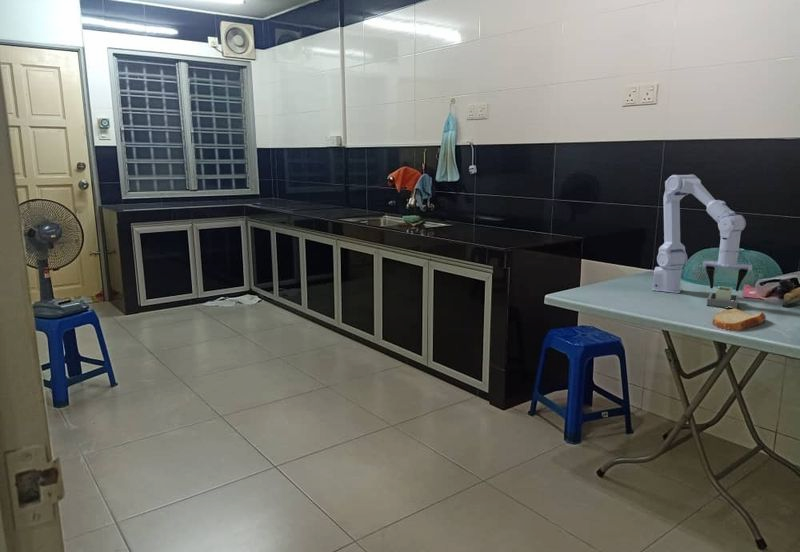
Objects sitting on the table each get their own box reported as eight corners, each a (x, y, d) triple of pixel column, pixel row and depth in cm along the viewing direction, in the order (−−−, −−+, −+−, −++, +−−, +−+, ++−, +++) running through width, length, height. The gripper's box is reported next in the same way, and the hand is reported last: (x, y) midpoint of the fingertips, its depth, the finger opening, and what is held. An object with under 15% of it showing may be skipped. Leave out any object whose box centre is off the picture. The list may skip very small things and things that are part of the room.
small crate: (714, 304, 192) (716, 290, 191) (716, 300, 198) (718, 286, 197) (729, 305, 190) (731, 291, 189) (730, 301, 196) (732, 287, 195)
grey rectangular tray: (706, 305, 192) (707, 298, 192) (710, 299, 201) (710, 292, 201) (736, 309, 187) (737, 302, 187) (738, 302, 197) (739, 295, 196)
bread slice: (722, 332, 164) (723, 319, 163) (697, 315, 182) (698, 304, 181) (787, 333, 162) (789, 321, 161) (755, 316, 180) (756, 305, 179)
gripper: (703, 250, 191) (699, 288, 194) (753, 254, 183) (748, 294, 186) (705, 247, 197) (701, 285, 200) (754, 251, 189) (749, 290, 192)
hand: (724, 289), depth 193 cm, fingers open, 7 cm apart
